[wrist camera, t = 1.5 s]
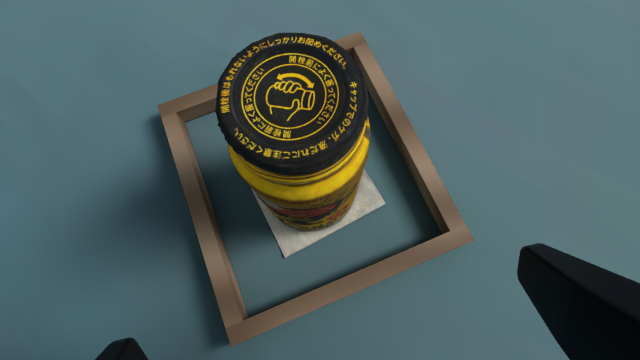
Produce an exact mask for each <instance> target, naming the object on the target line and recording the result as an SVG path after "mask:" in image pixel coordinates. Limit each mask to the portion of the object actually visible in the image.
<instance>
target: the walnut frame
mask: <svg viewBox="0 0 640 360" xmlns="http://www.w3.org/2000/svg"><path fill="white" fill-rule="evenodd" d="M334 42H336V43H337V44H338V45H340V46H341V47H342V48H344V49H345V50H346V51H347V52H348V53H349V55H350V56H351V57H352V58H353V60H354V61H355V63H356V64H357V65H358V66H359V68H360V69H361V71H362V73H363V76H364V80H365V84H366V87H367V90H368V92H369V94H370V96H371V98H372V100H373V101H374V103H375V105H376V107H377V109H378V111H379V113H380V115H381V117H382V119H383V121H384V123H385V125H386V127H387V129H388V130H389V132H390V134H391V136H392V138H393V140H394V142H395V144H396V146H397V148H398V150H399V152H400V154H401V156H402V158H403V159H404V161H405V163H406V165H407V167H408V169H409V171H410V173H411V175H412V177H413V179H414V181H415V183H416V185H417V187H418V188H419V190H420V192H421V194H422V196H423V198H424V200H425V202H426V204H427V206H428V208H429V210H430V212H431V214H432V216H433V217H434V219H435V221H436V223H437V225H438V227H439V229H440V231H441V233H442V235H440V236H438V237H435V238H433V239H431V240H428V241H426V242H424V243H421V244H419V245H417V246H414V247H412V248H410V249H407V250H405V251H403V252H400V253H398V254H396V255H394V256H391V257H389V258H387V259H384V260H382V261H380V262H377V263H375V264H373V265H370V266H368V267H366V268H363V269H361V270H359V271H357V272H354V273H352V274H350V275H347V276H345V277H343V278H340V279H338V280H336V281H333V282H331V283H329V284H326V285H324V286H322V287H319V288H317V289H315V290H313V291H310V292H308V293H306V294H303V295H301V296H299V297H296V298H294V299H292V300H289V301H287V302H285V303H282V304H280V305H278V306H276V307H273V308H271V309H269V310H266V311H264V312H262V313H259V314H257V315H255V316H252V317H250V318H248V315H247V312H246V309H245V306H244V303H243V300H242V297H241V294H240V291H239V287H238V284H237V281H236V278H235V275H234V272H233V269H232V266H231V263H230V260H229V257H228V254H227V251H226V248H225V244H224V241H223V238H222V235H221V232H220V229H219V226H218V223H217V220H216V217H215V214H214V211H213V208H212V204H211V201H210V198H209V195H208V192H207V189H206V186H205V183H204V180H203V177H202V174H201V171H200V168H199V165H198V161H197V158H196V155H195V152H194V149H193V146H192V143H191V140H190V137H189V134H188V131H187V128H186V125H185V122H187V121H190V120H193V119H196V118H198V117H201V116H204V115H206V114H209V113H212V112H214V111H216V109H215V107H216V96H217V89H218V84H215V85H212V86H209V87H207V88H204V89H201V90H198V91H196V92H193V93H190V94H187V95H185V96H182V97H179V98H177V99H174V100H171V101H168V102H166V103H163V104H160V105H158V108H159V112H160V115H161V118H162V122H163V125H164V128H165V131H166V135H167V138H168V141H169V145H170V148H171V151H172V154H173V158H174V161H175V164H176V168H177V171H178V174H179V178H180V181H181V184H182V187H183V191H184V194H185V197H186V201H187V204H188V207H189V210H190V214H191V217H192V220H193V224H194V227H195V230H196V233H197V237H198V240H199V243H200V247H201V250H202V253H203V256H204V260H205V263H206V266H207V270H208V273H209V276H210V279H211V283H212V286H213V289H214V293H215V296H216V299H217V302H218V306H219V309H220V312H221V316H222V319H223V322H224V325H225V329H226V332H227V335H228V339H229V342H230V345H231V346H234V345H236V344H238V343H240V342H243V341H245V340H247V339H250V338H252V337H254V336H256V335H259V334H261V333H263V332H266V331H268V330H270V329H272V328H275V327H277V326H279V325H282V324H284V323H286V322H288V321H291V320H293V319H295V318H298V317H300V316H302V315H304V314H307V313H309V312H311V311H314V310H316V309H318V308H320V307H323V306H325V305H327V304H330V303H332V302H334V301H336V300H339V299H341V298H343V297H346V296H348V295H350V294H352V293H355V292H357V291H359V290H362V289H364V288H366V287H368V286H371V285H373V284H375V283H378V282H380V281H382V280H384V279H387V278H389V277H391V276H394V275H396V274H398V273H400V272H403V271H405V270H407V269H410V268H412V267H414V266H416V265H419V264H421V263H423V262H426V261H428V260H430V259H432V258H435V257H437V256H439V255H441V254H444V253H446V252H448V251H451V250H453V249H455V248H457V247H460V246H462V245H464V244H467V243H469V242H471V241H473V240H474V239H473V238H472V236H471V234H470V232H469V230H468V228H467V226H466V225H465V223H464V221H463V219H462V217H461V215H460V214H459V212H458V210H457V208H456V206H455V204H454V202H453V201H452V199H451V197H450V195H449V193H448V191H447V190H446V188H445V186H444V184H443V182H442V180H441V179H440V177H439V175H438V173H437V171H436V169H435V167H434V166H433V164H432V162H431V160H430V158H429V156H428V155H427V153H426V151H425V149H424V147H423V145H422V143H421V142H420V140H419V138H418V136H417V134H416V132H415V131H414V129H413V127H412V125H411V123H410V121H409V119H408V118H407V116H406V114H405V112H404V110H403V108H402V107H401V105H400V103H399V101H398V99H397V97H396V96H395V94H394V92H393V90H392V88H391V86H390V84H389V83H388V81H387V79H386V77H385V75H384V73H383V72H382V70H381V68H380V66H379V64H378V62H377V60H376V59H375V57H374V55H373V53H372V51H371V49H370V48H369V46H368V44H367V42H366V40H365V38H364V36H363V35H362V33H361V31H360V32H358V33H355V34H352V35H349V36H347V37H344V38H341V39H338V40H336V41H334Z"/></svg>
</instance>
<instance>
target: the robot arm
mask: <svg viewBox="0 0 640 360" xmlns="http://www.w3.org/2000/svg"><path fill="white" fill-rule="evenodd" d="M517 275H518V279H519V282H520V283H521V285H522V287H523V288H524V290H525V292H526V293H527V295H528V296H529V298H530V300H531V301H532V303H533V305H534V306H535V308H536V309H537V311H538V313H539V314H540V316H541V317H542V319H543V321H544V322H545V324H546V325H547V327H548V329H549V330H550V332H551V334H552V335H553V337H554V338H555V340H556V341H557V343H558V344H559V345H560V347H561V348H562V350H563V351H564V352H565V354H566V355H567V356H568V358H569V359H570V360H640V283H638V282H635V281H633V280H630V279H628V278H625V277H623V276H621V275H618V274H616V273H613V272H611V271H608V270H606V269H603V268H601V267H598V266H596V265H594V264H591V263H589V262H586V261H584V260H581V259H579V258H576V257H574V256H571V255H569V254H567V253H564V252H562V251H559V250H557V249H554V248H552V247H549V246H547V245H544V244H541V243H537V244H533V245H528V246H524V247H523V248H522V249H521V251H520V256H519V263H518V270H517ZM95 360H148V358H147V357H146V355H145V354H144V352H143V351H142V349H141V348H140V346H139V345H138V343H137V342H136V340H135V339H133V338H125V339H121V340H117V341H114V342H112V343H110V344H109V345H108V346H107V347H106V348H105V349H104V350H103V351H102V353H101V354H100V355H99V356H98V357H97V358H96V359H95Z"/></svg>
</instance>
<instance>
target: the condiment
mask: <svg viewBox="0 0 640 360" xmlns="http://www.w3.org/2000/svg"><path fill="white" fill-rule="evenodd" d="M368 103H369V98H368V91H367V87H366V84H365V80H364V76H363V73H362V71H361V69H360V68H359V66H358V65H357V64H356V63H355V61H354V60H353V58H352V57H351V56H350V55H349V53H348V52H347V51H346V50H345V49H344V48H342V47H341V46H340V45H338V44H337V43H336V42H334V41H332V40H329V39H328V38H326V37H321V36H317V35H311V34H306V33H278V34H275V35H271V36H268V37H265V38H263V39H261V40H259V41H256V42H253V43H251V44H250V45H249V46H247V47H246V48H245V49H243V50H242V51H241V52H239V53H237V54H236V56H235V57H233V58H232V60H231V61H230V63H229V65H228V66H227V67H226V69H225V70H224V72H223V74H222V75H221V77H220V79H219V81H218V89H217V96H216V107H215V109H216V111H215V112H216V114H217V118H218V121H219V123H218V126H219V127H220V129H221V132H222V133H223V134H224V136H225V140H226V141H227V143H228V148H229V154H230V157H231V161H232V162H233V164H234V166H235V168H236V170H237V171H238V172H239V174H240V176H241V177H242V179H243V180H244V181H245V182H246V183H247V184H248V185H249V186H250V187H251V189H252V191H253V193H254V195H255V197H256V199H257V201H258V203H259V205H260V207H261V209H262V212H263V214H264V216H265V218H266V220H267V222H268V224H269V226H270V228H271V230H272V232H273V234H274V236H275V238H276V240H277V242H278V244H279V246H280V248H281V250H282V252H283V255H284V257H285V258H286V257H288V256H290V255H292V254H293V253H295V252H297V251H299V250H301V249H303V248H305V247H306V246H308V245H310V244H312V243H314V242H316V241H318V240H320V239H321V238H323V237H325V236H327V235H329V234H331V233H333V232H335V231H336V230H338V229H340V228H342V227H344V226H346V225H347V224H349V223H351V222H353V221H355V220H357V219H358V218H360V217H362V216H364V215H365V214H367V213H369V212H371V211H373V210H375V209H377V208H379V207H380V206H382V205H384V204H386V203H385V202H384V200H383V198H382V197H381V195H380V194H379V192H378V190H377V189H376V187H375V185H374V184H373V182H372V181H371V179H370V177H369V175H368V174H367V172H366V171H365V169H364V166H365V164H366V161H367V157H368V150H369V144H370V124H369V118H368Z"/></svg>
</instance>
